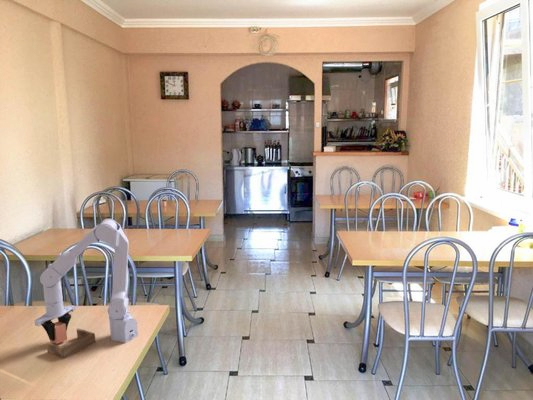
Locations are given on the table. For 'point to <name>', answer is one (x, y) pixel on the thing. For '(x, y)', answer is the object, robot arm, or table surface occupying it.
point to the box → (72, 344)
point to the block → (59, 332)
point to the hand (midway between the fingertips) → (57, 337)
